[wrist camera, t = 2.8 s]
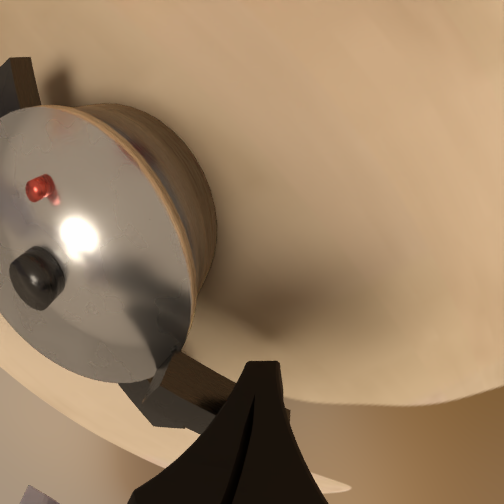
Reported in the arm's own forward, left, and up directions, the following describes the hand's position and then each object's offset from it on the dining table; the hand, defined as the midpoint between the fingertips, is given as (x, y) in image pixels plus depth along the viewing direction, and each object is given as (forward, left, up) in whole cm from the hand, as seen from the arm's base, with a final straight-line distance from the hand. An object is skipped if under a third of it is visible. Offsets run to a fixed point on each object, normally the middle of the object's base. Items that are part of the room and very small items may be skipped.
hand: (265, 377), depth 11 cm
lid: (-8, +2, -1) cm, 8 cm away
